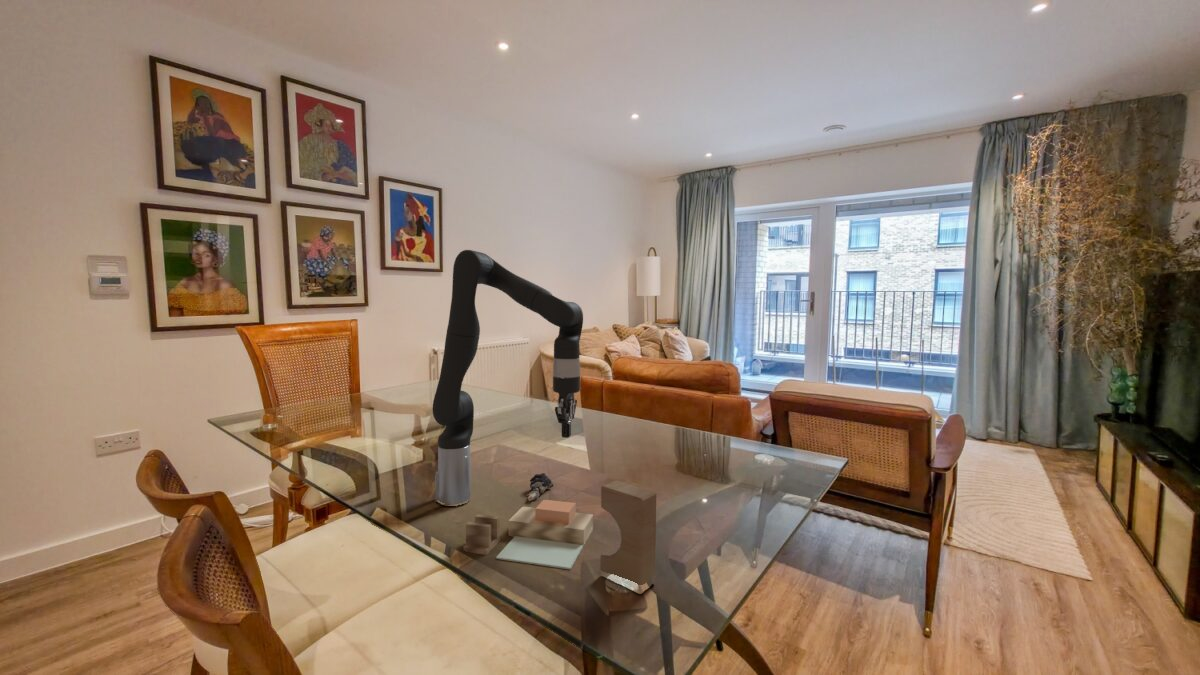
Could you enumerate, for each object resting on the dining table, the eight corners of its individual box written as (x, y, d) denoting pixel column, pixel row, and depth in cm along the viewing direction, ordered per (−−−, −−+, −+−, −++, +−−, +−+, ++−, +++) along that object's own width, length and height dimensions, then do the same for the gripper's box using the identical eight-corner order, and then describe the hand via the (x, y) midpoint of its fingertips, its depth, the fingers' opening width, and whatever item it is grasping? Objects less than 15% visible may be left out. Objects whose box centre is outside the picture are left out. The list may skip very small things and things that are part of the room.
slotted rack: (463, 551, 110) (463, 526, 110) (479, 536, 118) (479, 512, 118) (486, 554, 109) (486, 529, 109) (501, 539, 117) (501, 514, 116)
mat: (496, 558, 107) (496, 557, 107) (515, 537, 117) (515, 536, 117) (570, 569, 103) (570, 567, 103) (583, 546, 113) (583, 545, 113)
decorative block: (599, 576, 101) (599, 485, 100) (615, 565, 105) (616, 479, 104) (640, 597, 93) (641, 499, 92) (656, 585, 98) (657, 491, 97)
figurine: (544, 502, 139) (559, 481, 153) (534, 483, 138) (550, 463, 153) (525, 510, 140) (541, 488, 155) (515, 491, 140) (532, 471, 155)
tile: (535, 520, 119) (535, 508, 118) (543, 510, 124) (543, 499, 124) (568, 524, 117) (568, 512, 116) (575, 514, 122) (575, 503, 122)
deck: (508, 535, 118) (508, 520, 118) (522, 520, 127) (522, 506, 127) (583, 545, 114) (583, 529, 114) (592, 529, 122) (593, 514, 122)
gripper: (561, 371, 134) (560, 430, 135) (545, 377, 121) (544, 442, 122) (586, 372, 133) (585, 431, 133) (572, 378, 120) (572, 444, 120)
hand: (566, 436), depth 128 cm, fingers closed
